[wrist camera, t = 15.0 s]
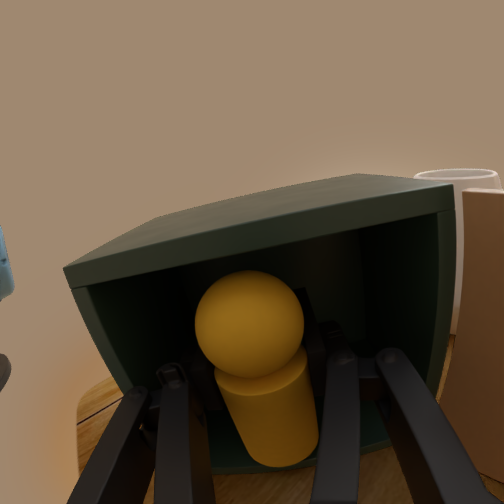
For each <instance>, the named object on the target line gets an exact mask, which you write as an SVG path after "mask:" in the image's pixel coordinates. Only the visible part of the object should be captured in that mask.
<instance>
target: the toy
mask: <svg viewBox="0 0 504 504" xmlns="http://www.w3.org/2000/svg"><path fill="white" fill-rule="evenodd" d="M195 332H196V337H197V340H198V343H199V346H200V348H201V350H202V351H203V353H204V354H205V356H206V357H207V358H208V359H209V360H210V362H211V363H212V364H214V365H215V369H214V377H215V380H216V382H217V385H218V387H219V389H220V392H221V394H222V396H223V399H224V401H225V403H226V406H227V408H228V410H229V412H230V415H231V417H232V419H233V421H234V424H235V426H236V428H237V430H238V432H239V434H240V436H241V438H242V441H243V443H244V445H245V447H246V449H247V451H248V453H249V454H250V456H251V457H252V458H253V459H254V460H255V461H257V462H259V463H260V464H263V465H266V466H270V467H285V466H290V465H293V464H296V463H298V462H300V461H302V460H303V459H305V458H306V457H308V456H309V455H310V454H311V453H312V451H313V450H314V449H315V447H316V445H317V443H318V439H319V432H318V424H317V417H316V409H315V402H314V395H313V389H312V383H311V376H310V370H309V363H308V357H307V352H306V349H305V348H304V346H303V345H302V344H301V340H302V337H303V332H304V316H303V312H302V308H301V305H300V303H299V301H298V299H297V297H296V295H295V294H294V292H293V291H292V290H291V289H290V288H289V287H288V286H287V285H286V284H285V283H284V282H283V281H281V280H280V279H278V278H277V277H275V276H272V275H270V274H268V273H264V272H261V271H252V270H245V271H239V272H234V273H231V274H228V275H226V276H224V277H222V278H221V279H219V280H218V281H216V282H215V283H214V284H213V285H212V286H211V287H210V288H209V289H208V290H207V291H206V292H205V294H204V295H203V297H202V299H201V301H200V302H199V305H198V308H197V311H196V316H195Z"/></svg>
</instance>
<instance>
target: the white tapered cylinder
mask: <svg viewBox="0 0 504 504" xmlns="http://www.w3.org/2000/svg"><path fill="white" fill-rule="evenodd" d="M413 179H422V180H430V181H437V182H445V183H452V184H453V186H454V197H455V210H456V233H457V256H456V280H455V294H454V304H453V313H452V321H451V328H450V334H454V335H456V330H457V324H458V317H459V309H460V301H461V290H462V278H463V258H464V222H463V202H462V191H463V190H465V189H467V188H481V189H497V190H502V187H501V183H500V179H499V175H498V174H497V172H495V171H492V170H487V169H470V168H462V169H442V170H434V171H426V172H422V173H418V174H416V175H415V176H413Z"/></svg>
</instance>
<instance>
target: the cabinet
mask: <svg viewBox="0 0 504 504" xmlns="http://www.w3.org/2000/svg"><path fill="white" fill-rule="evenodd" d="M456 256H457V233H456V210H455V197H454V186H453V184H452V183H445V182H437V181H430V180H422V179H413V178H403V177H393V176H383V175H370V174H352V175H346V176H340V177H334V178H329V179H323V180H318V181H312V182H307V183H302V184H297V185H291V186H286V187H281V188H277V189H272V190H267V191H262V192H258V193H253V194H249V195H244V196H240V197H236V198H231V199H227V200H223V201H218V202H215V203H210V204H206V205H202V206H198V207H194V208H190V209H187V210H183V211H179V212H175V213H171V214H168V215H164V216H160V217H157V218H154V219H152V220H150V221H149V222H146V223H144V224H142V225H140V226H138V227H136V228H134V229H132V230H131V231H129V232H127V233H125V234H123V235H121V236H119V237H117V238H115V239H113V240H111V241H110V242H108V243H106V244H104V245H102V246H100V247H99V248H97V249H95V250H93V251H91V252H89V253H88V254H86V255H84V256H82V257H80V258H79V259H77V260H75V261H73V262H72V263H70V264H68V265H67V266H65V267H64V268H63V271H64V273H65V276H66V279H67V281H68V284H69V287H70V289H71V292H72V294H73V297H74V299H75V302H76V304H77V306H78V309H79V311H80V313H81V315H82V318H83V320H84V322H85V324H86V326H87V329H88V331H89V333H90V334H91V337H92V339H93V341H94V343H95V345H96V347H97V349H98V351H99V353H100V354H101V356H102V358H103V360H104V362H105V364H106V366H107V367H108V369H109V371H110V373H111V374H112V376H113V378H114V380H115V381H116V383H117V385H118V386H119V388H120V390H121V391H122V393H123V394H124V395H125V393H126V392H127V391H128V390H130V389H131V388H133V387H136V386H144V387H146V388H147V389H148V391H149V392H151V391H155V390H159V389H162V384H161V383H160V381H159V379H158V377H157V375H156V372H157V370H158V369H159V368H160V367H161V366H163V365H165V364H167V363H172V362H176V363H180V360H181V358H182V355H183V353H184V351H185V350H186V349H187V348H188V347H189V346H190V345H198V344H199V343H198V340H197V337H196V332H195V316H196V311H197V308H198V305H199V302H200V301H201V299H202V297H203V295H204V294H205V292H206V291H207V290H208V289H209V288H210V287H211V286H212V285H213V284H214V283H215V282H216V281H218V280H219V279H221V278H222V277H224V276H226V275H228V274H231V273H234V272H239V271H245V270H252V271H261V272H264V273H268V274H270V275H272V276H275V277H277V278H278V279H280V280H281V281H283V282H284V283H285V284H286V285H287V286H288V287H289V288H290V289H291V290H292V291H293V289H298V288H303V287H305V288H306V291H307V294H308V297H309V300H310V303H311V306H312V309H313V312H314V315H315V318H316V321H317V324H318V323H322V322H327V321H331V320H334V321H336V322H337V323H339V324H340V326H341V328H342V331H343V333H344V335H345V337H346V340H347V342H348V344H349V346H350V349H351V351H353V352H354V353H355V354H356V355H357V356H359V357H363V358H375V357H376V354H377V353H378V352H379V351H380V350H382V349H384V348H389V347H393V348H398V349H400V350H402V351H403V352H404V354H405V355H406V356H407V358H408V359H409V361H410V362H411V364H412V365H413V367H414V368H415V369H416V371H417V372H418V374H419V375H420V377H421V378H422V380H423V381H424V383H425V384H426V386H427V387H428V389H429V391H430V392H431V394H432V395H433V397H434V398H436V395H437V391H438V387H439V383H440V379H441V375H442V371H443V366H444V362H445V357H446V352H447V346H448V341H449V335H450V328H451V321H452V313H453V304H454V294H455V280H456ZM293 292H294V291H293ZM301 344H302V345H303V346H304V344H303V339H302V340H301ZM313 395H314V394H313ZM324 398H325V395H321V396H316V397H314V402H315V409H316V417H317V424H318V432H319V439H318V443H317V445H316V447H315V449H314V450H313V451H312V453H311V454H310V455H309V456H308V457H306V458H305V459H303V460H302V461H300V462H298V463H296V464H293V465H290V466H285V467H270V466H266V465H263V464H260V463H259V462H257V461H255V460H254V459H253V458H252V457H251V456H250V454H249V453H248V451H247V449H246V447H245V445H244V443H243V441H242V438H241V436H240V434H239V432H238V430H237V428H236V426H235V424H234V421H233V419H232V417H231V415H230V412H229V410H228V408H227V406H226V403H225V401H224V406H223V410H208V409H207V407H206V405H205V404H204V408H203V411H204V413H205V415H206V422H207V433H208V443H209V452H210V461H211V470H212V474H250V473H263V472H274V471H283V470H290V469H297V468H304V467H310V466H315V465H316V463H317V457H318V450H319V443H320V435H321V427H322V418H323V409H324ZM389 446H392V443H391V441H390V438H389V436H388V433H387V431H386V429H385V426H384V424H383V421H382V419H381V417H380V414H379V412H378V410H377V407H376V405H375V403H374V400H372V401H360V455H363V454H366V453H370V452H373V451H377V450H380V449H383V448H386V447H389Z"/></svg>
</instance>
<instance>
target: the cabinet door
mask: <svg viewBox="0 0 504 504" xmlns="http://www.w3.org/2000/svg"><path fill="white" fill-rule="evenodd" d="M462 202H463V222H464V258H463V278H462V290H461V301H460V309H459V317H458V324H457V330H456V336H455V342H454V347H453V352H452V357H451V361H450V366H449V370H448V374H447V378H446V382H445V385H444V389H443V393H442V396H441V399H440V403H439V406H440V408H441V409H442V411H443V413H444V414H445V416H446V417H447V419H448V421H449V422H450V424H451V426H452V427H453V429H454V431H455V432H456V434H457V436H458V437H459V439H460V441H461V443H462V444H463V446H464V448H465V450H466V451H467V453H468V455H469V457H470V458H471V460H472V462H473V464H474V466H475V468H476V470H477V471H478V472H480V473H482V474H485V475H487V476H489V477H491V478H493V479H495V480H497V481H499V482H502V483H504V190H497V189H481V188H467V189H465V190H463V191H462Z"/></svg>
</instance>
